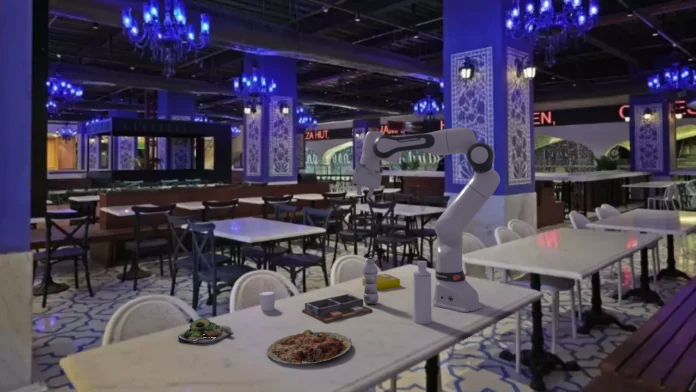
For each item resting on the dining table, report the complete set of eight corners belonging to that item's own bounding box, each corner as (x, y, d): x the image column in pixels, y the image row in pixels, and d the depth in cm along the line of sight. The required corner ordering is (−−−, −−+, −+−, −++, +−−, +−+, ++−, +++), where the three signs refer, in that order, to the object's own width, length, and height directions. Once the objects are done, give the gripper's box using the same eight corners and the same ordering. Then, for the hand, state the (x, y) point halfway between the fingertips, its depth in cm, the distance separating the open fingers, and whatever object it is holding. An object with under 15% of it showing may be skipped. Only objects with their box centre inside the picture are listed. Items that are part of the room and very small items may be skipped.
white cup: (279, 307, 206) (278, 291, 205) (269, 312, 199) (269, 295, 199) (265, 306, 208) (265, 290, 208) (256, 310, 202) (255, 294, 202)
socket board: (372, 311, 197) (372, 302, 197) (325, 323, 184) (325, 313, 184) (347, 301, 212) (346, 292, 212) (302, 311, 199) (302, 302, 199)
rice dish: (251, 365, 150) (250, 348, 150) (291, 332, 176) (290, 317, 175) (332, 377, 140) (332, 359, 140) (363, 340, 166) (362, 325, 165)
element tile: (361, 285, 243) (360, 275, 242) (386, 281, 249) (386, 272, 249) (374, 291, 229) (374, 282, 229) (401, 288, 235) (401, 278, 235)
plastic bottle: (368, 306, 204) (367, 260, 203) (360, 302, 210) (360, 258, 209) (381, 304, 207) (380, 259, 206) (373, 300, 213) (372, 256, 212)
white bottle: (410, 320, 186) (410, 256, 184) (425, 317, 188) (425, 255, 187) (419, 325, 180) (418, 259, 178) (434, 322, 182) (434, 258, 180)
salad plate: (246, 331, 178) (245, 318, 178) (216, 348, 162) (216, 335, 161) (203, 325, 185) (203, 314, 185) (171, 342, 169) (170, 329, 168)
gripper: (363, 162, 206) (358, 194, 205) (385, 170, 223) (380, 199, 222) (351, 161, 209) (346, 192, 208) (373, 169, 226) (368, 198, 226)
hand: (364, 196), depth 216 cm, fingers open, 8 cm apart
